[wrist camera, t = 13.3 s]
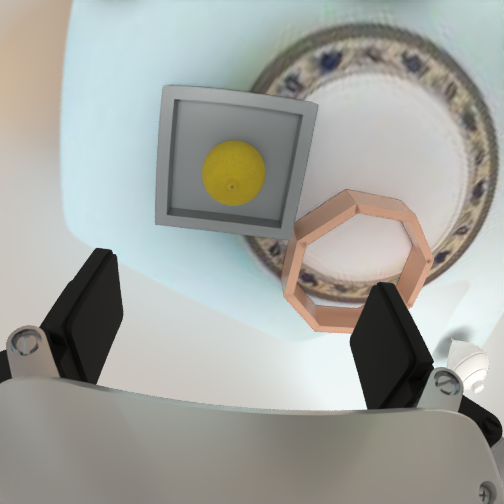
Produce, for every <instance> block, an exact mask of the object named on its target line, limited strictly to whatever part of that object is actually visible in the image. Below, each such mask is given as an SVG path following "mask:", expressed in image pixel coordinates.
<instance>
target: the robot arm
mask: <svg viewBox="0 0 504 504" xmlns="http://www.w3.org/2000/svg"><path fill="white" fill-rule="evenodd" d="M122 319H123V305H122V298H121V290H120V281H119V272H118V262H117V256H116V254H113V252H112V250H110V249H102V248H96V249H95V250H94V251H93V252H92V254H91V255H90V257H89V258H88V259H87V261H86V262H85V263H84V265H83V266H82V267H81V269H80V270H79V272H78V273H77V275H76V276H75V277H74V279H73V280H72V281H70V282H69V283H68V284H67V286H66V288H65V289H64V290H63V292H62V293H61V295H60V296H59V298H58V299H57V301H56V302H55V304H54V305H53V307H52V308H51V310H50V311H49V313H48V314H47V316H46V318H45V319H44V321H43V322H42V324H41V326H40V327H36V326H31V325H27V326H23V327H20V328H18V329H16V330H15V331H14V332H12V333H11V334H10V336H9V337H8V339H7V342H6V350H3V351H1V352H0V504H504V438H503V437H502V426H501V423H500V421H499V420H498V418H497V417H496V416H495V415H493V414H492V413H490V412H489V411H487V410H486V409H484V408H482V407H481V406H479V405H478V404H476V403H475V402H473V401H472V400H470V399H468V398H467V397H465V396H464V395H463V391H464V386H463V382H462V380H461V379H460V377H459V376H458V375H457V374H456V373H455V372H454V371H452V370H450V369H448V368H445V367H438V368H435V369H434V367H433V365H432V364H433V362H434V361H433V359H432V356H431V354H430V352H429V350H428V348H427V346H426V344H425V342H424V340H423V338H422V336H421V334H420V332H419V330H418V328H417V326H416V324H415V322H414V320H413V318H412V316H411V314H410V313H409V311H408V309H407V307H406V305H405V303H404V301H403V299H402V298H401V296H400V294H399V292H398V290H397V288H396V287H395V285H394V284H393V283H386V282H378V283H377V285H374V286H373V287H372V289H371V291H370V294H369V296H368V298H367V301H366V303H365V305H364V308H363V310H362V312H361V315H360V317H359V319H358V321H357V324H356V326H355V328H354V330H353V332H352V335H351V337H350V347H351V351H352V354H353V357H354V361H355V365H356V368H357V372H358V375H359V379H360V383H361V387H362V390H363V394H364V398H365V402H366V406H367V410H344V411H343V410H342V411H307V410H276V409H258V408H244V407H232V406H222V405H213V404H204V403H196V402H188V401H181V400H174V399H168V398H162V397H155V396H150V395H144V394H139V393H134V392H128V391H123V390H118V389H113V388H108V387H104V386H99V385H96V384H97V381H98V379H99V376H100V374H101V371H102V368H103V366H104V363H105V361H106V358H107V356H108V353H109V351H110V348H111V346H112V343H113V341H114V339H115V336H116V334H117V331H118V329H119V327H120V324H121V322H122Z"/></svg>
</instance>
